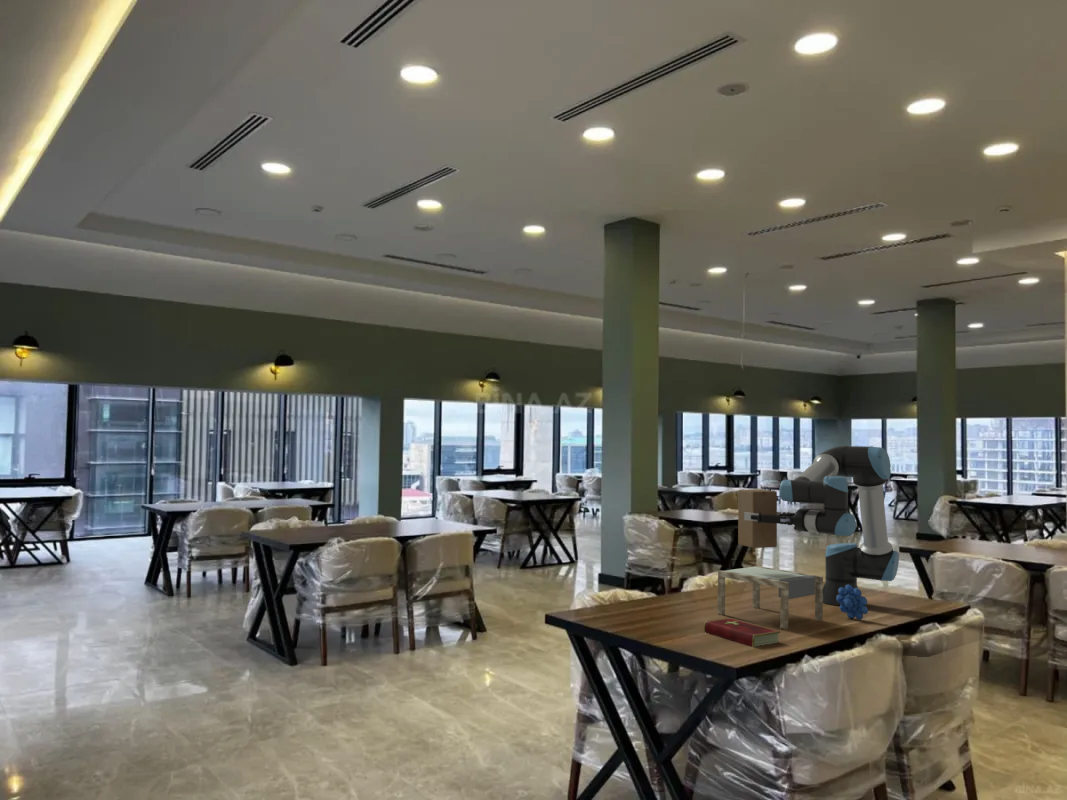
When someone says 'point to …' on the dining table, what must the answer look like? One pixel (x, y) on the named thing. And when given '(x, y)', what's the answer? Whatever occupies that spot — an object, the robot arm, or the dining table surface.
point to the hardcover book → (741, 632)
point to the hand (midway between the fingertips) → (755, 515)
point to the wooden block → (753, 530)
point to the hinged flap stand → (774, 583)
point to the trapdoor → (797, 583)
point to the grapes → (852, 602)
